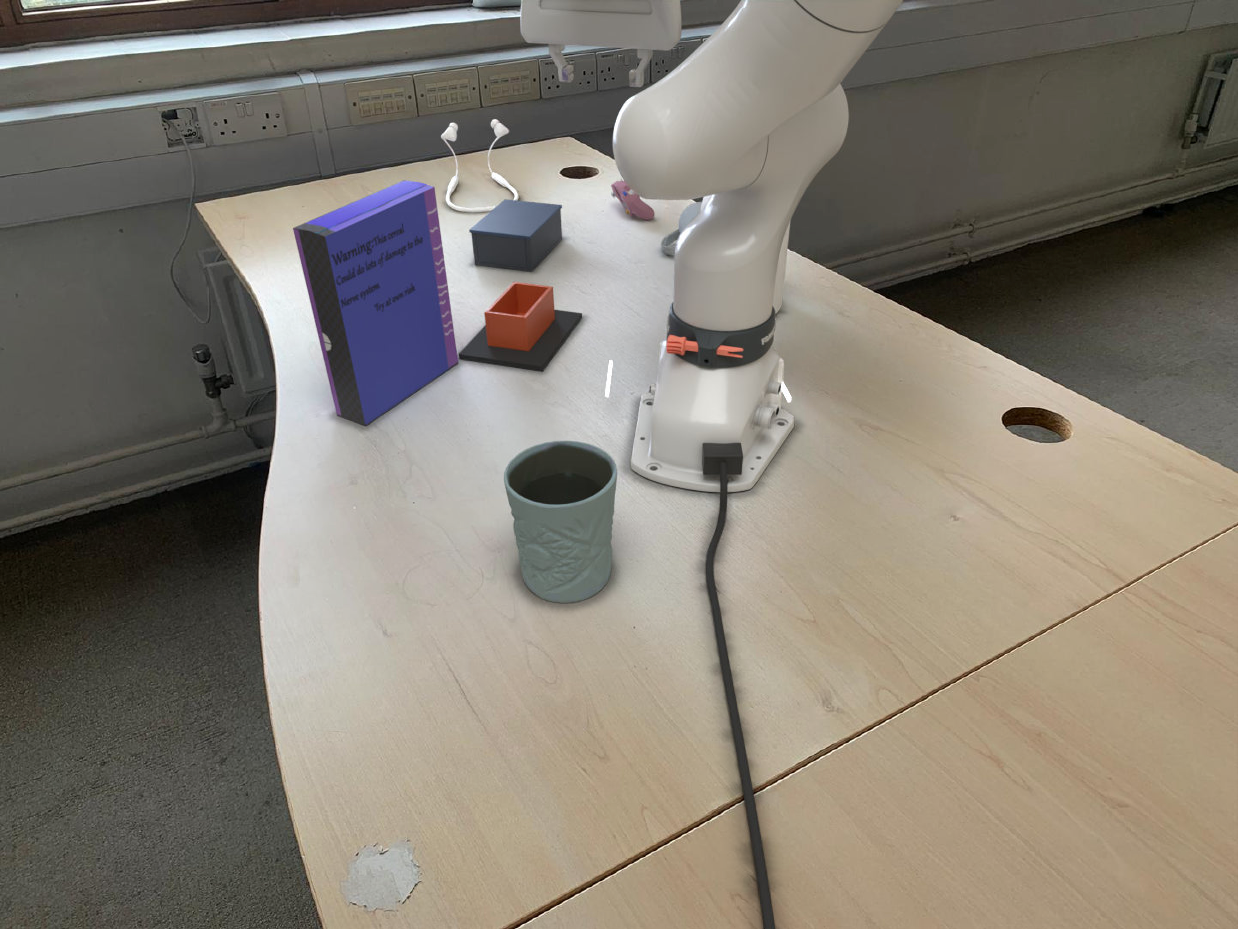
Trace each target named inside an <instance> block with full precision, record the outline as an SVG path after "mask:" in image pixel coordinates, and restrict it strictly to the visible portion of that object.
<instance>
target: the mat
mask: <svg viewBox="0 0 1238 929" xmlns="http://www.w3.org/2000/svg"><path fill="white" fill-rule="evenodd" d="M554 311H555V319H554V321H553V322H552V323H551V324H550V326H549V327H548V328H547V329H546V331H545V332H544V333H543V334H542V336H541V337H540V338H539V339H538V341H537V342H536V343H535V344H534V346H533V347H532V348H531V349H530V351H522V350H515V349H508V348H501V347H495V346H488V341H487V332H486V324H484V326H483V327H482V328H481V329H480V330H479V331H478V332H477V333H476V335H474V337H473V338H472V339H471V340H470V341H469V342H468V343H467V344H466V345H465V347H463V349H462V350H461V351H460V352H459V353H458V360H463V361H470V362H477V363H484V364H490V365H497V366H504V367H511V368H516V369H522V370H523V369H524V370H529V371H536V372H544V370H545V369H546V368H547V367H548V365H549V364H550V362H552V359H553V358H554V357H555V355H556V354H557V353H558V352H559V350H560V349H561V348H562V346H563V344H565V342H566V341H567V339H568V338H569V337H570V335H571V333H573V331H574V330H575V329H576V328H577V326H578V325H579V324H580V322H581V321H582V319H583V313H582V312H577V311H568V310H562V309H554Z"/></svg>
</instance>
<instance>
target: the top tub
mask: <svg viewBox="0 0 1238 929" xmlns="http://www.w3.org/2000/svg"><path fill="white" fill-rule="evenodd" d="M554 294H555V293H554V286H551V285H541V284H535V283H527V282H520V281H519V282H518V281H513V282H512V283H511V284H509V286H508V287H506V289H505V290H504V291H503V292H502V293H500V295H499V296H498V297H497V298H496V299H495V300H494V302H493V303H492V304H491V305H490V306H489V307H488V308H486V310H485V311H484V314H483V315H484V323H485V325H486V332H487V341H488V346H495V347H501V348H508V349H515V350H522V351H530V349H531V348H532V347H533V346H534V344H535V343H536V342H537V341H538V339H539V338H540V337H541V336H542V334H543V333H544V332H545V331H546V329H547V328H548V327H549V326H550V324H551V323H552V322H553V321H554V319H555V311H554V310H555V297H554Z"/></svg>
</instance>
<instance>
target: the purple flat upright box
mask: <svg viewBox="0 0 1238 929" xmlns="http://www.w3.org/2000/svg"><path fill="white" fill-rule="evenodd" d="M437 202H438V201H437V196H436V188H435V186H433V185H429V184H427V183H424V182H420V181H413V180H406V179H405V180H400V181H399V182H396V183H394V184H392V185H389V186H387V187H385V188H382V189H380V190H378V191H376V192H372V193H371V194H369V195H366V196H364V197H362V198H360V199H357V200H355V201H352V202H350V203H347V204H345V205H343V206H341V207H338V208H336V209H334V210H332V211H329V212H327V213H324V214H321V215H320V216H318V217H315V218H313V219H310V220H308V221H306V222H304V223H301V224H299V225H297V226H294V227H293V228H292V230H293V234H294V239H295V243H296V247H297V251H298V257H299V260H300V264H301V269H302V273H303V278H304V280H305V281H304V282H305V285H306V290H307V294H308V295H307V296H308V298H309V299H308V300H309V304H310V306H311V312H312V315H313V319H314V324H315V328H316V332H317V337H318V340H319V345H320V350H321V353H322V358H323V362H324V367H325V370H326V371H325V372H326V375H327V379H328V383H329V387H330V391H331V396H332V401H333V404H334V410H335V413H336V416H337V417H340V418H342V419H345V420H348V421H350V422H354V423H356V424H359V425H361V426H364V427H368V425H370V424H372V423H373V422H375V421H376V420H378V419H379V418H380V417H382V416H384V415H385V414H386V413H388V412H389V411H391V410H392V409H393V408H395V407H397V406H398V405H400V404H401V403H402V402H403V401H405V400H407V399H408V398H410V397H411V396H413V395H414V394H416V393H417V392H419V391H420V390H422V389H423V388H425V387H426V386H427V385H429V384H430V383H432V382H433V381H435V380H436V379H438V378H439V377H441V376H442V375H444V374H445V373H446V372H448V371H450V370H451V369H452V368H454V367H456V366H457V365H458V364H459V356H458V351H457V343H456V335H455V328H454V321H453V314H452V306H451V299H450V292H449V285H448V278H447V271H446V270H447V269H446V263H445V255H444V254H445V253H444V248H443V240H442V232H441V226H440V217H439V210H438V204H437Z"/></svg>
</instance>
